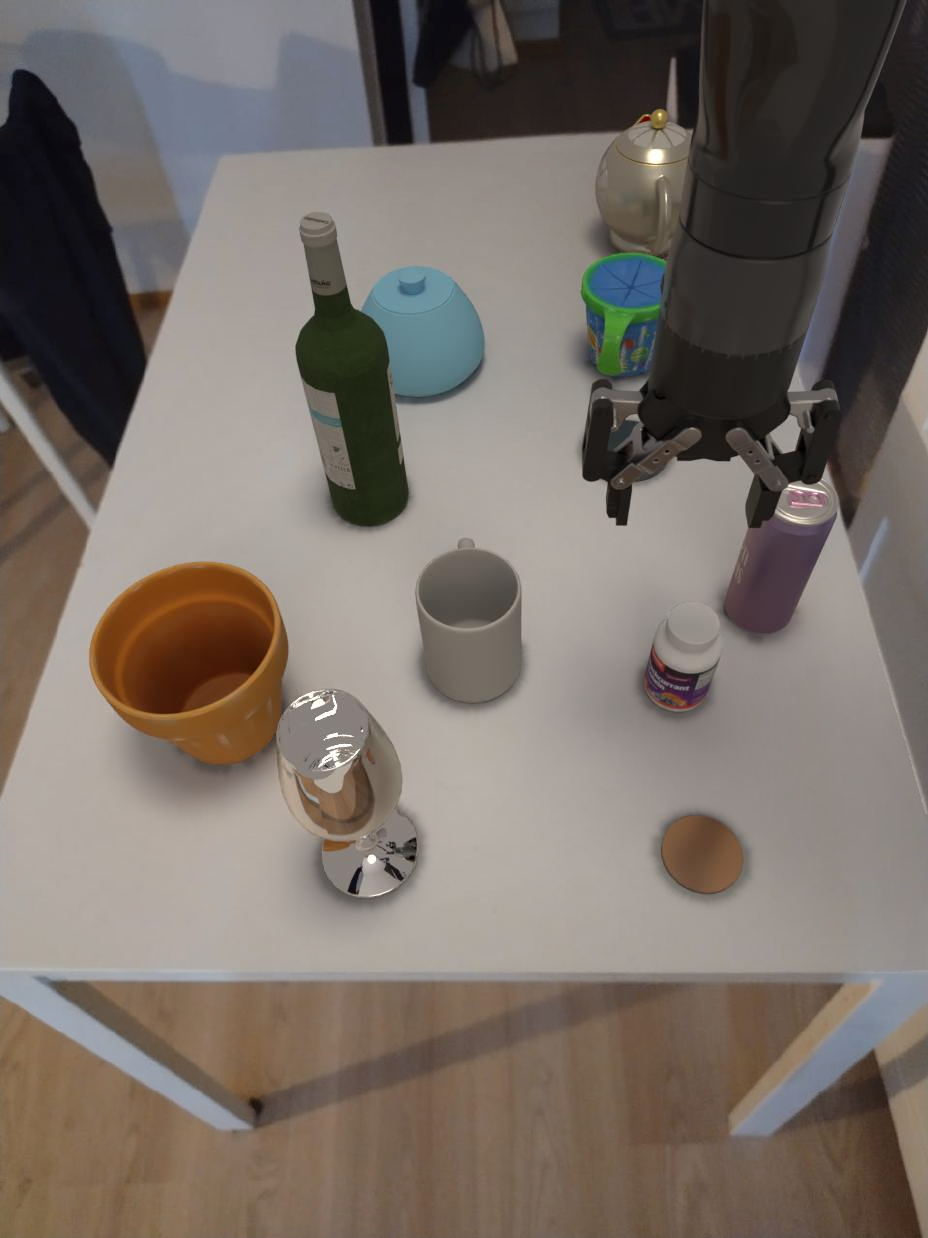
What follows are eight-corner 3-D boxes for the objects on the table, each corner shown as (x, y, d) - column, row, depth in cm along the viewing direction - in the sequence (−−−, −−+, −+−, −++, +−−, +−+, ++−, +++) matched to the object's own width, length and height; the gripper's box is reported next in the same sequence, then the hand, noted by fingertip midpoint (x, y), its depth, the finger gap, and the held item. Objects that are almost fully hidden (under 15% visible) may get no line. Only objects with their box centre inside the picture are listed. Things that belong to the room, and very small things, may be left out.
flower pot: (230, 625, 80) (186, 533, 69) (346, 698, 75) (318, 611, 64) (115, 739, 74) (47, 657, 63) (234, 827, 68) (182, 754, 58)
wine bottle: (424, 488, 89) (389, 208, 64) (378, 538, 85) (323, 262, 61) (363, 461, 92) (308, 182, 67) (317, 508, 88) (241, 232, 64)
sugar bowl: (386, 314, 106) (374, 225, 97) (502, 334, 103) (500, 244, 93) (337, 391, 98) (317, 302, 89) (460, 416, 95) (453, 326, 86)
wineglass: (309, 893, 65) (240, 782, 49) (332, 797, 69) (275, 666, 53) (411, 906, 64) (374, 797, 48) (427, 808, 69) (399, 678, 52)
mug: (525, 701, 74) (527, 628, 65) (426, 707, 74) (414, 635, 65) (514, 590, 81) (514, 510, 72) (424, 596, 81) (412, 517, 72)
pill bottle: (630, 687, 74) (644, 623, 66) (668, 649, 76) (686, 582, 68) (681, 725, 72) (702, 663, 64) (719, 685, 74) (744, 620, 66)
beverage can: (792, 641, 76) (845, 528, 64) (723, 634, 77) (762, 522, 64) (788, 587, 79) (838, 471, 67) (722, 581, 80) (759, 465, 68)
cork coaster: (743, 824, 66) (744, 823, 66) (740, 900, 63) (741, 899, 63) (664, 810, 67) (665, 809, 67) (658, 885, 64) (658, 883, 64)
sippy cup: (642, 413, 94) (654, 334, 85) (553, 388, 97) (556, 309, 89) (688, 331, 102) (703, 251, 93) (604, 310, 105) (612, 231, 96)
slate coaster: (672, 426, 92) (673, 424, 92) (666, 486, 87) (666, 484, 87) (589, 417, 94) (589, 415, 94) (578, 476, 89) (578, 474, 89)
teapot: (584, 214, 117) (593, 84, 104) (685, 207, 117) (706, 76, 103) (601, 293, 107) (613, 159, 93) (711, 286, 106) (739, 151, 93)
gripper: (595, 349, 42) (578, 559, 55) (897, 349, 41) (805, 564, 54) (593, 261, 46) (577, 475, 60) (866, 258, 45) (788, 478, 58)
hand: (686, 517), depth 57 cm, fingers open, 8 cm apart
